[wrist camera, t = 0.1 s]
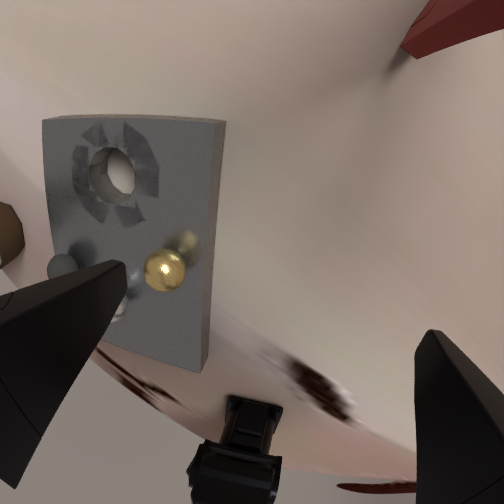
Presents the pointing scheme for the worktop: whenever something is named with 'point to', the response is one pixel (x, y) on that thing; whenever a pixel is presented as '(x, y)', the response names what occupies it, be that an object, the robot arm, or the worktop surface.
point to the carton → (452, 24)
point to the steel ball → (121, 310)
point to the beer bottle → (9, 234)
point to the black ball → (61, 265)
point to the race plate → (141, 219)
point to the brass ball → (164, 270)
